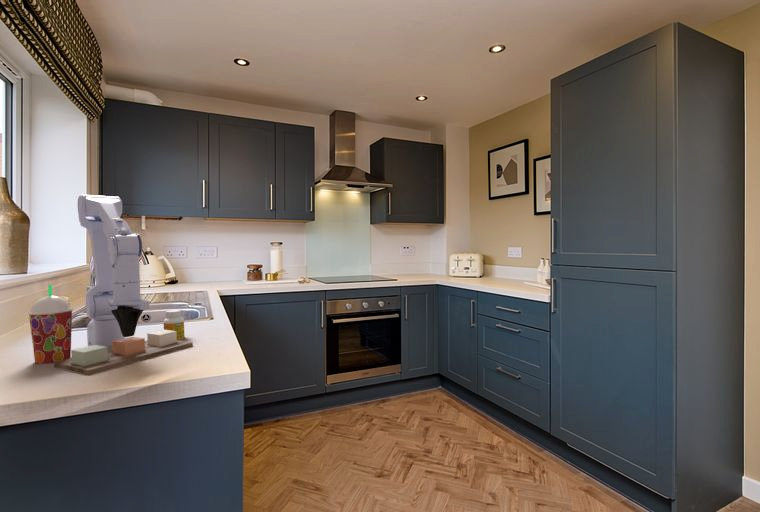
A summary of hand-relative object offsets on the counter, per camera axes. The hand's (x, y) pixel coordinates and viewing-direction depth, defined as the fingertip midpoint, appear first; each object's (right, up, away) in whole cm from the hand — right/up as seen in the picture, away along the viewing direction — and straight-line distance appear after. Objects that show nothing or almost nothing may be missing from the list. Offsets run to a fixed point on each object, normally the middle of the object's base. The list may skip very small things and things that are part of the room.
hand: (128, 336), depth 101 cm
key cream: (+4, -5, +8) cm, 10 cm away
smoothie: (-17, -7, -2) cm, 18 cm away
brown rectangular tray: (0, -6, 0) cm, 6 cm away
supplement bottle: (+2, -6, +18) cm, 19 cm away
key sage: (-4, -5, -8) cm, 10 cm away
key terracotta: (0, -5, 0) cm, 5 cm away
